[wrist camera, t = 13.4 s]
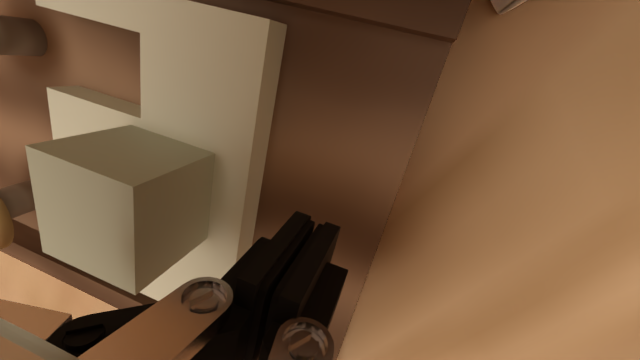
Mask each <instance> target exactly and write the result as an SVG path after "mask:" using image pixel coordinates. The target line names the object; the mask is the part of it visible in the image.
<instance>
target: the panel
mask: <svg viewBox="0 0 640 360" xmlns="http://www.w3.org/2000/svg"><path fill="white" fill-rule="evenodd" d="M35 1H36V5H38V6H41V7H45V8H49V9H53V10H56V11H60V12H64V13H68V14H71V15H75V16H79V17H83V18H86V19H90V20H94V21H98V22H101V23H105V24H109V25H113V26H116V27H120V28H124V29H128V30H131V31H135V32H139V33H140V87H141V106H140V105H137V104H134V103H131V102H128V101H125V100H122V99H119V98H115V97H112V96H109V95H106V94H103V93H100V92H97V91H94V90H91V89H87V88H84V87H81V86H61V87H46V88H47V96H48V104H49V112H50V120H51V128H52V135H53V140H50V141H44V142H39V143H34V144H29V145H25V148H26V154H27V160H28V166H29V172H30V178H31V185H32V191H33V197H34V203H35V209H36V215H37V221H38V227H39V233H40V239H41V245H42V251H43V252H44V253H46V254H48V255H50V256H52V257H55V258H57V259H59V260H61V261H63V262H65V263H67V264H69V265H72V266H74V267H76V268H78V269H80V270H82V271H84V272H87V273H89V274H91V275H93V276H95V277H97V278H99V279H102V280H104V281H106V282H108V283H110V284H112V285H114V286H117V287H119V288H121V289H123V290H125V291H127V292H129V293H132V294H134V295H136V294H138V293H139V292H140V293H142V294H144V295H146V296H148V297H150V298H153V299H155V300H157V301H160V300H161V299H162V298H164V297H165V296H167V295H168V294H170V293H171V292H173V291H174V290H175V289H177V288H178V287H180V286H181V285H183V284H184V283H186V282H188V281H190V280H192V279H195V278H199V277H214V278H218V279H221V278H222V277H223V276H224V275H225V274H226V273H227V272H228V271H229V270H230V269H231V267H232V266H233V265H234V264H235V263H236V262H237V261H238V260H239V259H240V258H241V257H242V256H243V255H244V254H245V253H246V252H247V251H248V250H249V249H250V248H251V247H252V242H253V235H254V229H255V223H256V217H257V211H258V204H259V198H260V192H261V186H262V179H263V173H264V167H265V161H266V154H267V148H268V142H269V136H270V130H271V123H272V117H273V111H274V105H275V98H276V92H277V86H278V80H279V73H280V67H281V61H282V55H283V49H284V42H285V36H286V30H287V25H286V24H283V23H280V22H277V21H273V20H270V19H266V18H262V17H258V16H253V15H249V14H245V13H240V12H236V11H232V10H228V9H223V8H219V7H215V6H210V5H206V4H202V3H198V2H193V1H189V0H35Z"/></svg>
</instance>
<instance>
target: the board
mask: <svg viewBox="0 0 640 360" xmlns="http://www.w3.org/2000/svg"><path fill="white" fill-rule="evenodd" d="M189 1H193V2H198V3H202V4H206V5H210V6H215V7H219V8H223V9H228V10H232V11H236V12H240V13H245V14H249V15H253V16H258V17H262V18H266V19H270V20H273V21H277V22H280V23H283V24H286V25H287V30H286V36H285V42H284V49H283V55H282V61H281V67H280V73H279V80H278V86H277V92H276V98H275V105H274V111H273V117H272V123H271V130H270V136H269V142H268V148H267V154H266V161H265V167H264V173H263V179H262V186H261V192H260V198H259V204H258V211H257V217H256V223H255V229H254V235H253V242H252V246H253V244H254V243H255V242H256V241H257V240H258V239H259V238H261V237H265V238H268V239H270V240H271V239H272V237H273V236H274V235H275V234H276V233H277V232H278V231H279V229H280V228H281V227H282V226H283V225H284V224H285V223H286V222H287V220H288V219H289V218H290V217H291V216H292V215H293V214H294V213H295V212H296V211H299V212H301V213H304V214H307V215H310V216H311V220H312V221H314V222H315V226H314V230H315V228H316V227H317V225H318V224H319V223H320V224H323V225H324V224H325V222H329V223H332V224H335V225H337V226H340V227H341V228H340V232H339V235H338V239H337V242H336V246H335V249H334V252H333V256H332V259H331V263H332V264H335V265H337V266H340V267H342V268H345V269H348V273H347V277H346V280H345V283H344V286H343V289H342V292H341V295H340V298H339V301H338V304H337V306H336V309H335V312H334V315H333V318H332V320H331V323H330V326H329V329H328V331H329V332H330V334H331V336H332V338H333V341H334V355H333V360H336V359H337V356H338V354H339V351H340V348H341V345H342V343H343V340H344V337H345V334H346V332H347V329H348V326H349V324H350V321H351V318H352V315H353V313H354V310H355V307H356V304H357V302H358V299H359V296H360V293H361V291H362V288H363V285H364V283H365V280H366V277H367V274H368V272H369V269H370V266H371V263H372V261H373V258H374V255H375V252H376V250H377V247H378V244H379V242H380V239H381V236H382V233H383V231H384V228H385V225H386V222H387V220H388V217H389V214H390V212H391V209H392V206H393V203H394V201H395V198H396V195H397V192H398V190H399V187H400V184H401V181H402V179H403V176H404V173H405V171H406V168H407V165H408V162H409V160H410V157H411V154H412V151H413V149H414V146H415V143H416V140H417V138H418V135H419V132H420V130H421V127H422V124H423V121H424V119H425V116H426V113H427V110H428V108H429V105H430V102H431V99H432V97H433V94H434V91H435V89H436V86H437V83H438V80H439V78H440V75H441V72H442V69H443V67H444V64H445V61H446V59H447V56H448V53H449V50H450V48H451V45H452V43H453V42H454V41H455V40H456V39H457V37H458V34H459V31H460V29H461V26H462V23H463V21H464V18H465V15H466V13H467V10H468V7H469V4H470V2H471V0H189ZM61 86H81V87H84V88H87V89H91V90H94V91H97V92H100V93H103V94H106V95H109V96H112V97H115V98H119V99H122V100H125V101H128V102H131V103H134V104H137V105H140V106H141V87H140V33H139V32H135V31H131V30H128V29H124V28H120V27H116V26H113V25H109V24H105V23H101V22H98V21H94V20H90V19H86V18H83V17H79V16H75V15H71V14H68V13H64V12H60V11H56V10H53V9H49V8H45V7H41V6H38V5H36V1H35V0H0V251H2V252H4V253H6V254H8V255H10V256H12V257H14V258H16V259H18V260H20V261H22V262H24V263H26V264H28V265H30V266H32V267H34V268H36V269H38V270H40V271H42V272H45V273H47V274H49V275H51V276H53V277H55V278H57V279H59V280H61V281H63V282H65V283H67V284H69V285H71V286H73V287H75V288H77V289H79V290H81V291H83V292H85V293H87V294H89V295H91V296H93V297H95V298H97V299H100V300H102V301H104V302H106V303H108V304H110V305H112V306H114V307H116V308H118V309H123V308H129V307H134V306H140V305H146V304H151V303H157V302H158V301H157V300H155V299H153V298H150V297H148V296H146V295H144V294H142V293H140V292H139V293H138V294H136V295H134V294H132V293H129V292H127V291H125V290H123V289H121V288H119V287H117V286H114V285H112V284H110V283H108V282H106V281H104V280H102V279H99V278H97V277H95V276H93V275H91V274H89V273H87V272H84V271H82V270H80V269H78V268H76V267H74V266H72V265H69V264H67V263H65V262H63V261H61V260H59V259H57V258H55V257H52V256H50V255H48V254H46V253H44V252H43V251H42V245H41V239H40V233H39V227H38V221H37V215H36V209H35V203H34V197H33V191H32V185H31V178H30V172H29V166H28V160H27V154H26V148H25V145H29V144H34V143H39V142H44V141H50V140H53V135H52V128H51V120H50V112H49V104H48V96H47V88H46V87H61ZM314 230H313V231H314ZM258 359H259V358H258ZM258 359H257V360H258Z"/></svg>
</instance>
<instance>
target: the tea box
mask: <svg viewBox="0 0 640 360" xmlns="http://www.w3.org/2000/svg"><path fill="white" fill-rule="evenodd" d="M490 1H491V3H492V5H493V7H494V9H495V10H496V12H497V13H498V14H500V15H503V14H504V13H506V12H508V11H510V10H512V9H513V8H515V7H517V6H519V5H520V4H522V3H524V2H525V1H527V0H490Z"/></svg>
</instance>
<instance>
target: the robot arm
mask: <svg viewBox="0 0 640 360" xmlns="http://www.w3.org/2000/svg"><path fill="white" fill-rule="evenodd" d="M314 226H315V222H314V221H312V220H311V216H310V215H307V214H304V213H301V212H299V211H296V212H295V213H294V214H293V215H292V216H291V217H290V218H289V219H288V220H287V222H286V223H285V224H284V225H283V226H282V227H281V228H280V229H279V231H278V232H277V233H276V234H275V235H274V236H273V237H272V239H271V240H270V239H268V238H265V237H261V238H259V239H258V240H257V241H256V242H255V243H254V244H253V246H252V247H251V248H250V249H249V250H248V251H247V252H246V253H245V254H244V255H243V256H242V257H241V258H240V259H239V260H238V261H237V262H236V263H235V264H234V265H233V266H232V267H231V269H230V270H229V271H228V272H227V273H226V274H225V275H224V276H223V277H222V278H221V279H218V278H214V277H199V278H195V279H192V280H190V281H188V282H186V283H184V284H183V285H181V286H180V287H178V288H177V289H175V290H174V291H173V292H171V293H170V294H168V295H167V296H165V297H164V298H162V299H161V300H160V301H158V302H157V303H151V304H146V305H140V306H134V307H129V308H123V309H118V310H112V311H107V312H101V313H96V314H90V315H86V316H82V317H79V318H76V319H72V315H71V314H68V313H63V312H58V311H54V310H49V309H44V308H40V307H35V306H30V305H25V304H21V303H16V302H11V301H7V300H2V299H0V360H257V359H258V358H259V359H258V360H333V355H334V341H333V338H332V336H331V334H330V332H329V331H328V329H329V326H330V323H331V320H332V318H333V315H334V312H335V309H336V306H337V304H338V301H339V298H340V295H341V292H342V289H343V286H344V283H345V280H346V277H347V273H348V269H345V268H342V267H340V266H337V265H335V264H332V263H331V259H332V256H333V252H334V249H335V246H336V242H337V239H338V235H339V232H340V228H341V227H340V226H337V225H335V224H332V223H329V222H325V224H324V225H323V224H320V223H319V224H318V225H317V227H316V228H315V230H314ZM313 230H314V231H313Z"/></svg>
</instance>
